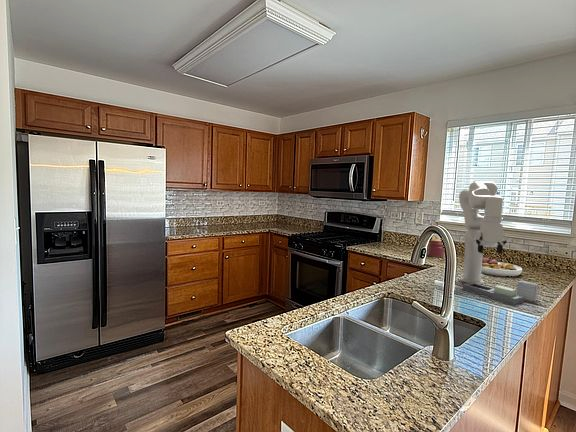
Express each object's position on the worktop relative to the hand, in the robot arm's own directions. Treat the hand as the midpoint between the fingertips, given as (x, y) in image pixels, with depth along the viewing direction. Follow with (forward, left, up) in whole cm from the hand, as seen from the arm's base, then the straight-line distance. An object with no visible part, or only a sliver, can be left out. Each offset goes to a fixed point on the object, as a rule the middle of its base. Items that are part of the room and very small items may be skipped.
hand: (489, 252), depth 163 cm
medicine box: (-15, +12, -23) cm, 30 cm away
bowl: (-63, -28, -24) cm, 73 cm away
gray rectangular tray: (-3, +1, -23) cm, 23 cm away
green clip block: (-3, +7, -23) cm, 24 cm away
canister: (-72, -81, -23) cm, 111 cm away
